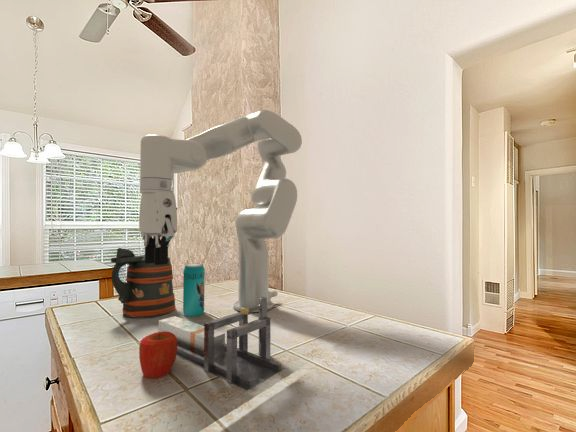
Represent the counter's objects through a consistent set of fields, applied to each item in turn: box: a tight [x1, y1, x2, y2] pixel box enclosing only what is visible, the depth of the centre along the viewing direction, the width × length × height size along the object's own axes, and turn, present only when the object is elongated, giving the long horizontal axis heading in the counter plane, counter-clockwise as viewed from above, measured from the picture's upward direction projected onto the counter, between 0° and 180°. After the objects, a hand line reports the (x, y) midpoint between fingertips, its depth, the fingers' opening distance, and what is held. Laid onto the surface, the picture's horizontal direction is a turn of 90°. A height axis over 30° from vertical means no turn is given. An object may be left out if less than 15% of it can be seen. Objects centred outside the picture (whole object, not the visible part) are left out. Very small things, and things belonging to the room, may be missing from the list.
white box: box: [157, 315, 226, 358], centre depth 64 cm, size 18×4×4 cm, turn 52°
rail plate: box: [176, 342, 285, 391], centre depth 60 cm, size 9×32×2 cm, turn 52°
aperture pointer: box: [240, 297, 268, 356], centre depth 58 cm, size 6×2×12 cm, turn 142°
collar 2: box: [225, 316, 271, 385], centre depth 53 cm, size 9×1×9 cm, turn 142°
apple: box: [138, 331, 177, 380], centre depth 53 cm, size 6×6×8 cm
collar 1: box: [203, 311, 249, 373], centre depth 57 cm, size 9×1×9 cm, turn 142°
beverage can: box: [182, 262, 205, 318], centre depth 87 cm, size 6×6×15 cm
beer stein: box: [110, 247, 176, 319], centre depth 91 cm, size 19×15×20 cm
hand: (156, 262), depth 73 cm, fingers open, 3 cm apart
